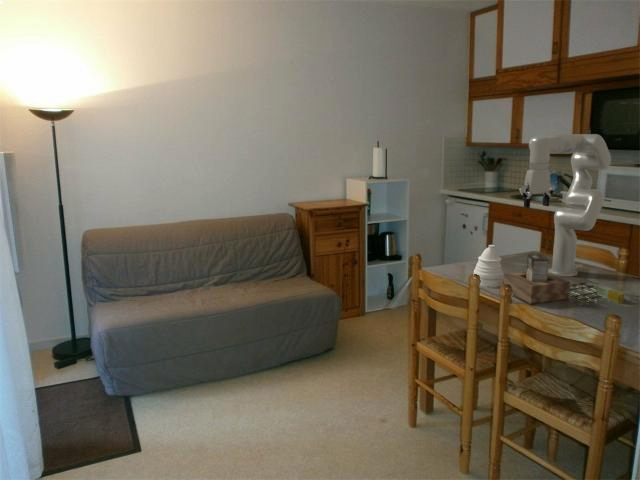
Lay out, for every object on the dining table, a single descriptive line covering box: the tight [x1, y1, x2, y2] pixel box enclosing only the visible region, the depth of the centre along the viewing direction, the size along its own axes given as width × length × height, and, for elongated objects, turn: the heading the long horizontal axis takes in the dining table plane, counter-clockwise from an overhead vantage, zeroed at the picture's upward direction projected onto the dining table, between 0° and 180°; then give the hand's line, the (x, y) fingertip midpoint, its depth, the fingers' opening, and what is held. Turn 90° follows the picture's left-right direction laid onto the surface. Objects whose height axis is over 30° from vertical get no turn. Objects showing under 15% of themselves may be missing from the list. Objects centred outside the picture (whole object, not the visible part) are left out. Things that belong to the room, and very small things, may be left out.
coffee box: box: [526, 253, 550, 283], centre depth 213 cm, size 9×6×16 cm
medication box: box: [595, 284, 626, 304], centre depth 211 cm, size 12×3×4 cm, turn 16°
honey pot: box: [473, 244, 504, 288], centre depth 232 cm, size 13×13×18 cm
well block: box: [503, 271, 571, 306], centre depth 214 cm, size 18×18×8 cm
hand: (536, 206), depth 222 cm, fingers open, 9 cm apart
